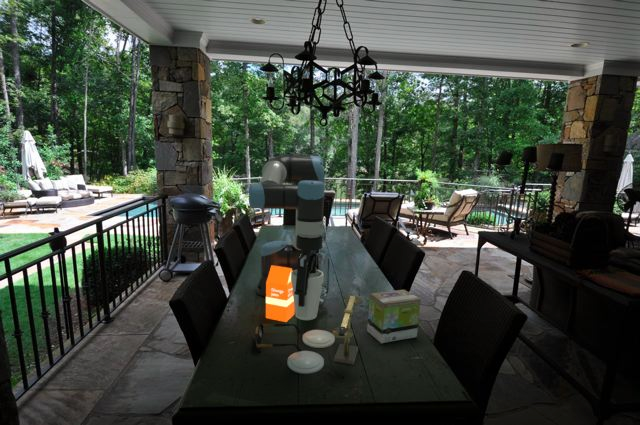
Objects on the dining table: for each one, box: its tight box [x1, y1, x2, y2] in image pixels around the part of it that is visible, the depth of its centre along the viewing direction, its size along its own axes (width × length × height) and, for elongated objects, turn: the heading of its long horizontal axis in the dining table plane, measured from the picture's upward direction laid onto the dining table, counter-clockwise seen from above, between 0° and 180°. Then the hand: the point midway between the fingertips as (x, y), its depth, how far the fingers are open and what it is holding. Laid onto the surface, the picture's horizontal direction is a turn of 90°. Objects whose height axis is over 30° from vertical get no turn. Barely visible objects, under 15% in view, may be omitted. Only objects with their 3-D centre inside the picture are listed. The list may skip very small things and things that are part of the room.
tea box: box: [366, 289, 421, 344], centre depth 128 cm, size 15×10×15 cm, turn 114°
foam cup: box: [291, 269, 325, 321], centre depth 106 cm, size 10×9×13 cm
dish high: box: [302, 329, 336, 349], centre depth 124 cm, size 11×11×1 cm
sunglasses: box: [254, 322, 302, 353], centre depth 121 cm, size 14×15×5 cm
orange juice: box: [265, 265, 295, 323], centre depth 139 cm, size 8×9×20 cm
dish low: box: [286, 350, 325, 375], centre depth 109 cm, size 11×11×1 cm
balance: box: [332, 295, 363, 365], centre depth 113 cm, size 22×6×17 cm, turn 165°
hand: (307, 309), depth 107 cm, fingers closed on foam cup, 9 cm apart
